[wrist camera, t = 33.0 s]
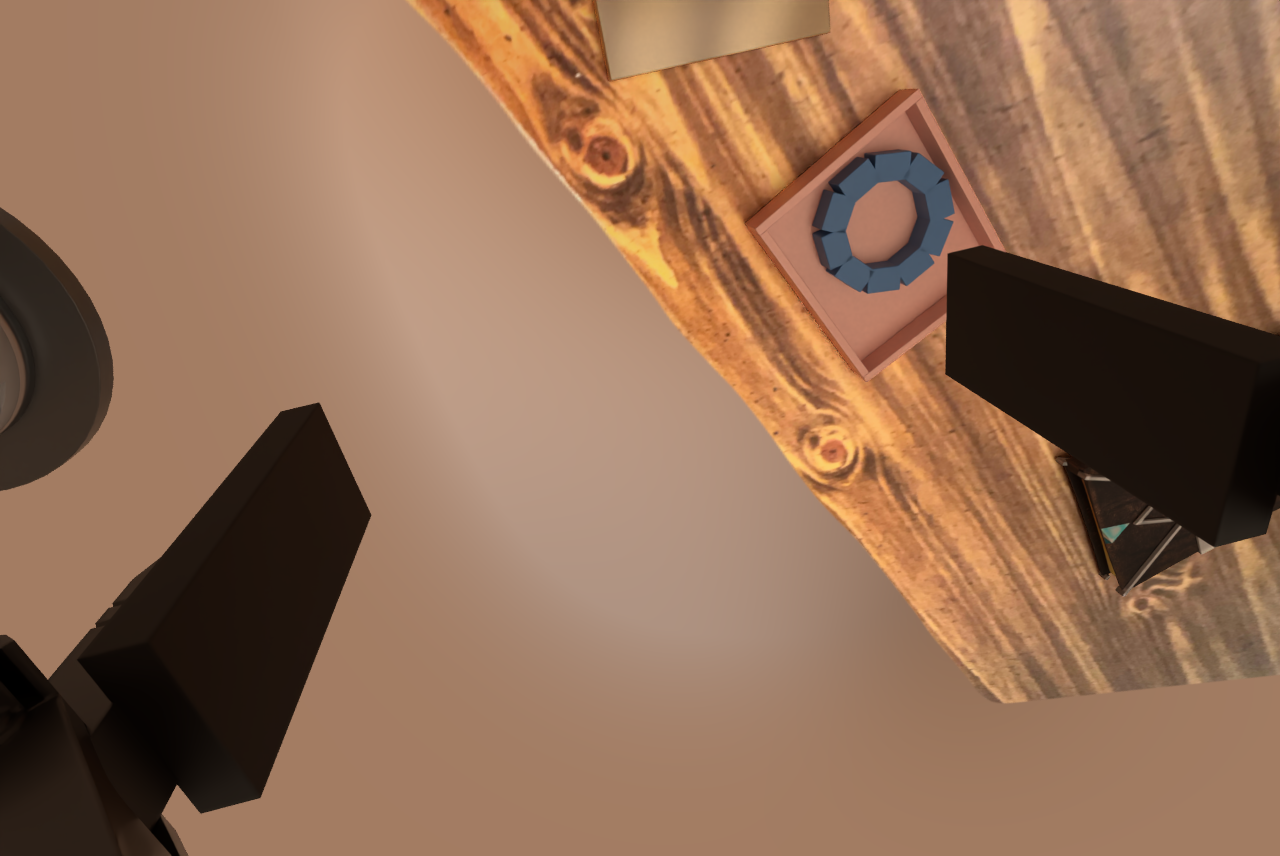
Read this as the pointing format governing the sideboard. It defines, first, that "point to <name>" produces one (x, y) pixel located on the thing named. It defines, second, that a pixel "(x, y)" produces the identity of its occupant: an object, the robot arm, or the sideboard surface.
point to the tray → (873, 238)
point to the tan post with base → (698, 30)
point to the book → (1128, 529)
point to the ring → (924, 239)
